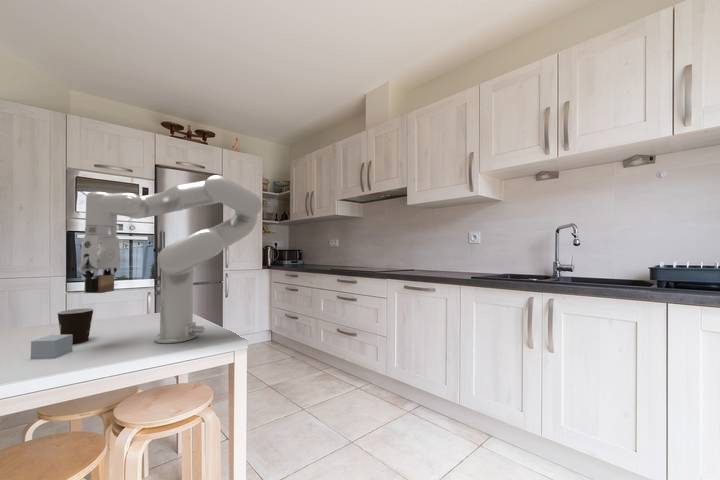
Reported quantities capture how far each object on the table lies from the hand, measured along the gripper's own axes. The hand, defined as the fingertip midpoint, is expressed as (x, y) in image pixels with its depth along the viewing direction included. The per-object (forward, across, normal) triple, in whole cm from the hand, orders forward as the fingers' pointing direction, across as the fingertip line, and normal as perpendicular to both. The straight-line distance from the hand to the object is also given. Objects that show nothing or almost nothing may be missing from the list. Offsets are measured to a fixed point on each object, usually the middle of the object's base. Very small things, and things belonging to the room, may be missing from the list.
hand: (99, 290), depth 96 cm
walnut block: (+1, 0, 0) cm, 1 cm away
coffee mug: (+18, +6, +12) cm, 22 cm away
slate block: (+18, -7, +7) cm, 20 cm away
